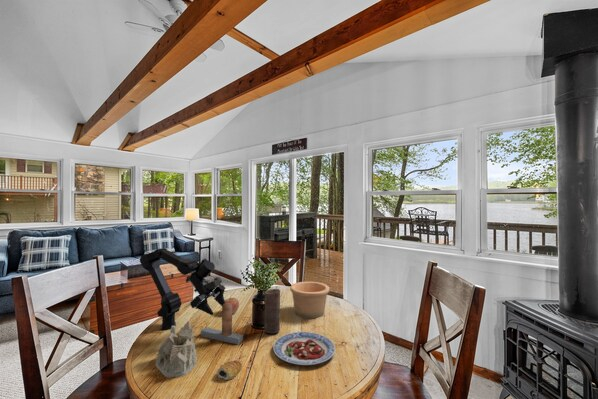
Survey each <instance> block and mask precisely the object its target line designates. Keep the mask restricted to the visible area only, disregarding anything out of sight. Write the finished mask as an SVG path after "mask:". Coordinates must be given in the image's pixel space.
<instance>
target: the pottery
mask: <svg viewBox="0 0 598 399" xmlns="http://www.w3.org/2000/svg"><path fill="white" fill-rule="evenodd" d="M289 287H290V289H289V290H290V291H291V293H292V299H293V300H292V301H293V306H294V307H293V310H294V313H295V315H296V316H298V317H300V318H302V319H307V320H308V319H310V320H311V319H319V318H321V317H323V316H324V315H325V310H326V302H327V296H328V293H330V286H329V285H327V284H326V283H322V282H318V281H299V282H295V283H293V284H291V286H289Z"/></svg>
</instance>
